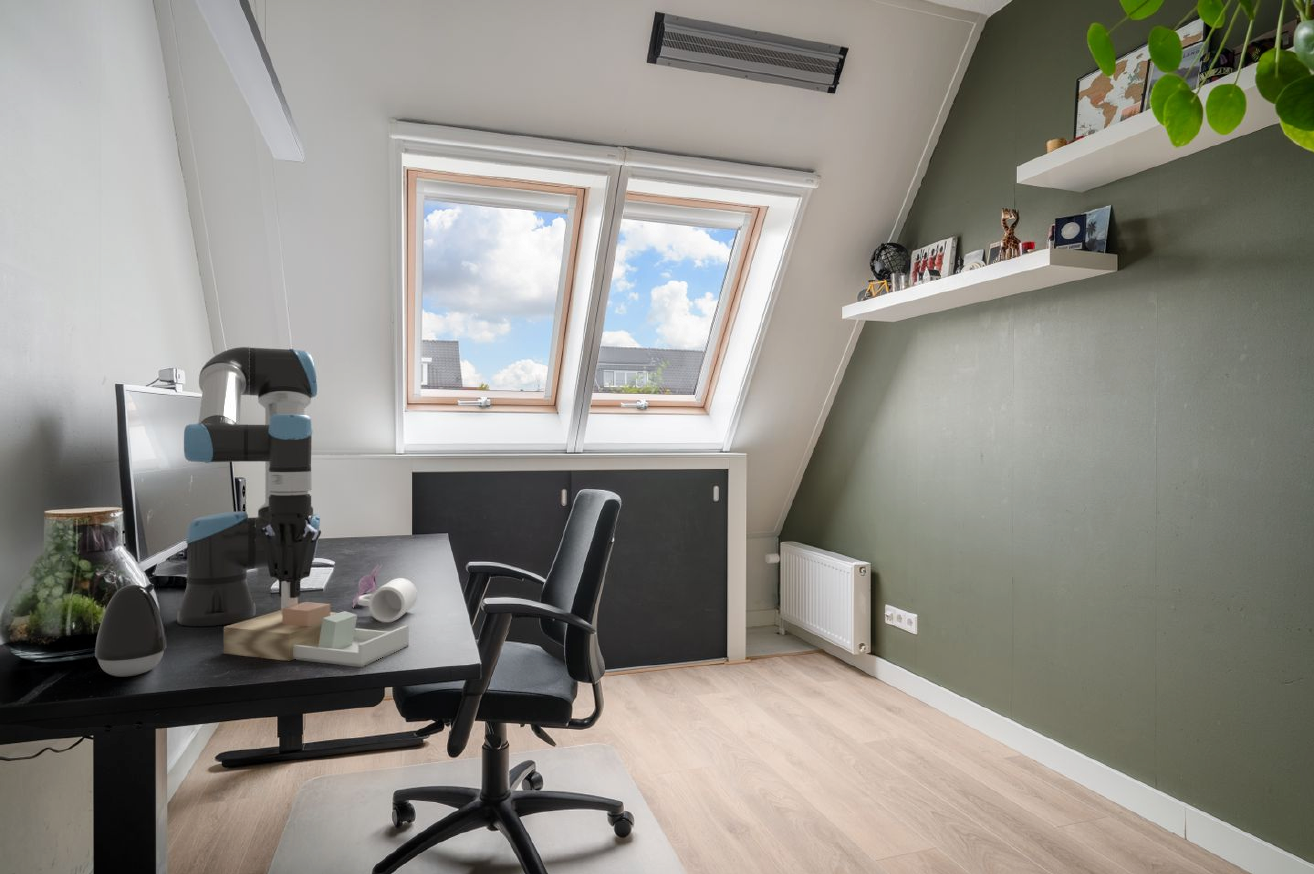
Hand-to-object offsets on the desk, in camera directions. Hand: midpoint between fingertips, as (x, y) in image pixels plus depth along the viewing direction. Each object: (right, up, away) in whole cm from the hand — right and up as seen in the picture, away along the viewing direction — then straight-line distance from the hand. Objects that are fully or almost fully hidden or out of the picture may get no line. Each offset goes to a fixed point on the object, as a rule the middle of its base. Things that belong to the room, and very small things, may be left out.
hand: (289, 613), depth 149 cm
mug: (+10, -7, +24) cm, 27 cm away
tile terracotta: (+4, -1, -1) cm, 4 cm away
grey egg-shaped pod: (-20, -7, -16) cm, 26 cm away
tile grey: (+9, -2, -3) cm, 10 cm away
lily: (+1, -6, +37) cm, 38 cm away
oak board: (-1, -6, 0) cm, 6 cm away
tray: (+14, -7, -4) cm, 16 cm away
